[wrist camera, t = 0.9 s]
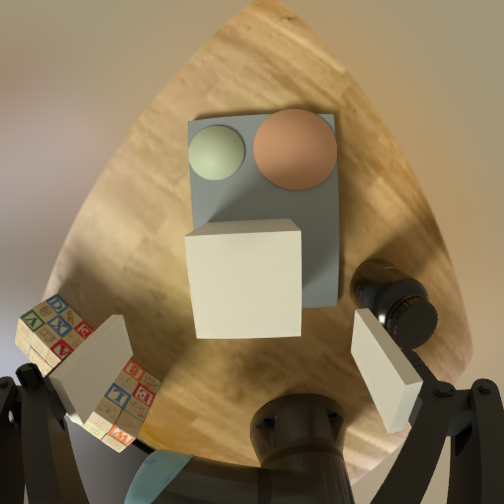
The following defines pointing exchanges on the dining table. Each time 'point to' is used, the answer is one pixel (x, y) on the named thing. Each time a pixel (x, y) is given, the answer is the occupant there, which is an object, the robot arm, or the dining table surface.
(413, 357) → the robot arm
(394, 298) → the supplement bottle
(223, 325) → the plain off-white box
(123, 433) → the stack of blocks
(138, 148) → the dining table surface
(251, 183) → the board
